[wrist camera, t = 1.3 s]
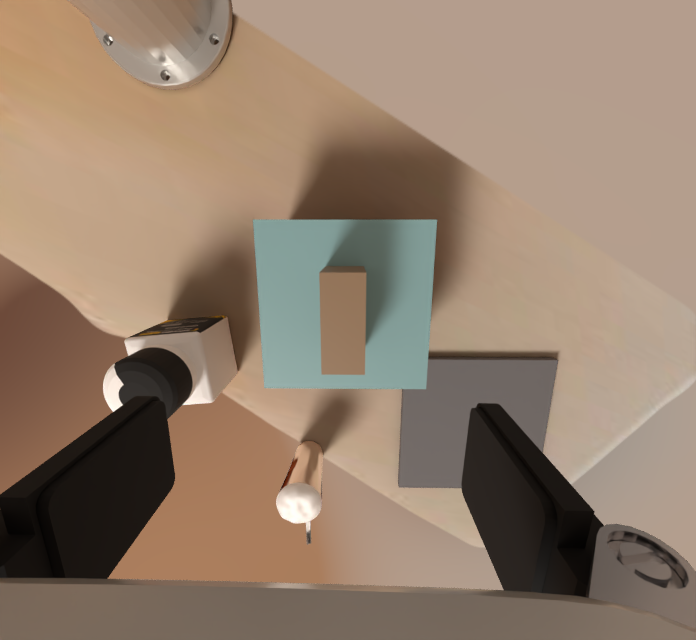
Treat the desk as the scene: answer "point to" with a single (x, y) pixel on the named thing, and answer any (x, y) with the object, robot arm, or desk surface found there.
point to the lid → (345, 302)
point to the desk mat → (467, 412)
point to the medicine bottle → (174, 364)
